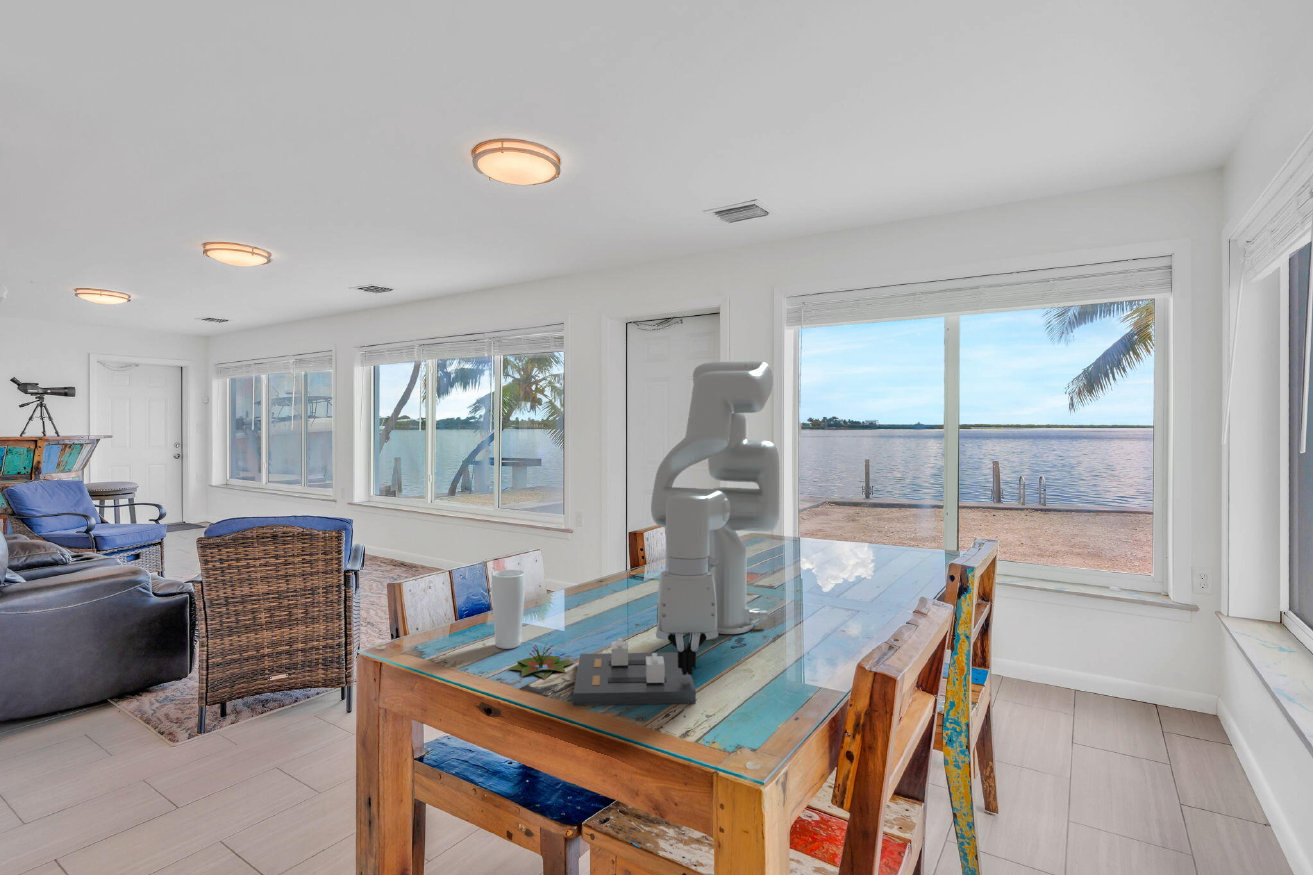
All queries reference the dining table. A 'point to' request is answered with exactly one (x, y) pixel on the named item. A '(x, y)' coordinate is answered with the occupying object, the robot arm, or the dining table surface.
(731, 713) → the dining table surface
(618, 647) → the breaker
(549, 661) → the lily flower
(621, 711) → the dining table surface
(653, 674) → the block
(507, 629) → the drinking glass
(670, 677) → the breaker panel
